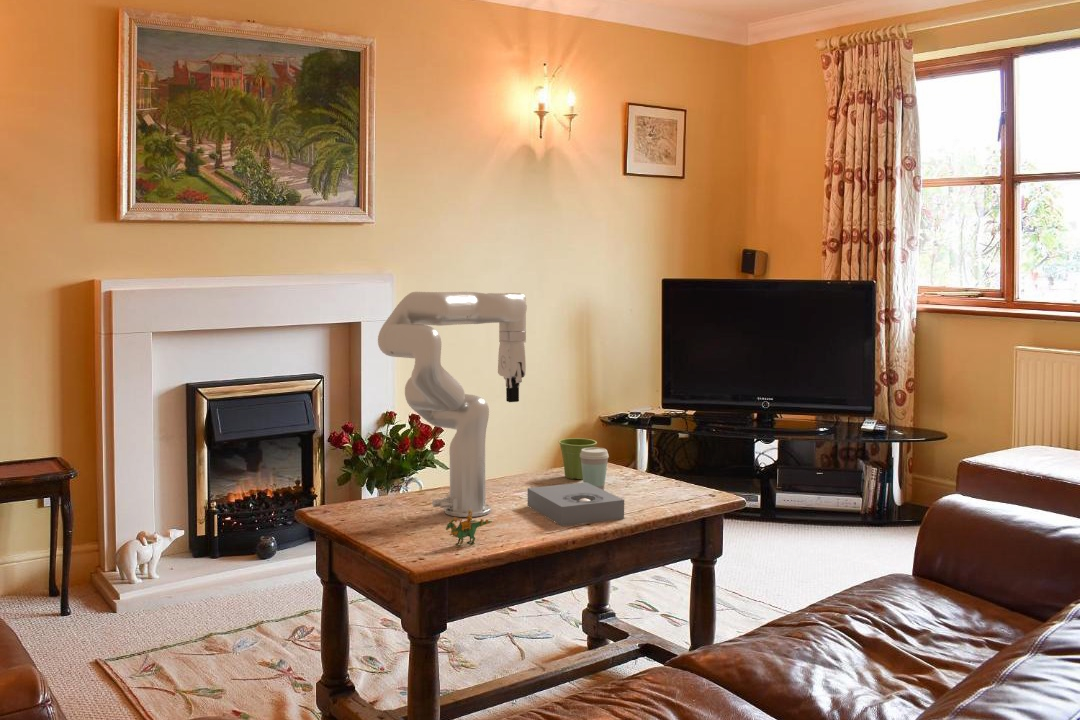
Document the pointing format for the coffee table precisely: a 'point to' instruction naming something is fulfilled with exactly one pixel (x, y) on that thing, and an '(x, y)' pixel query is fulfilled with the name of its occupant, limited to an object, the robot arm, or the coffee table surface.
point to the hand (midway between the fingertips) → (512, 401)
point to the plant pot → (574, 455)
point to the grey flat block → (575, 503)
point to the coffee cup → (594, 466)
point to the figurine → (465, 528)
